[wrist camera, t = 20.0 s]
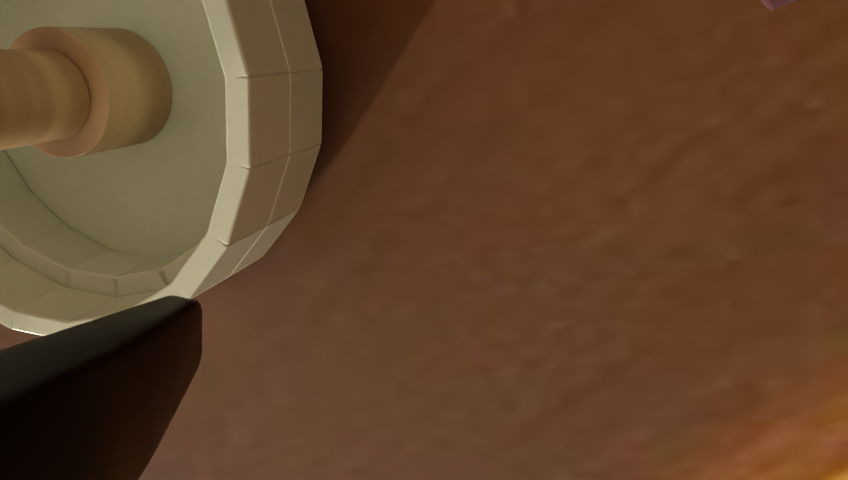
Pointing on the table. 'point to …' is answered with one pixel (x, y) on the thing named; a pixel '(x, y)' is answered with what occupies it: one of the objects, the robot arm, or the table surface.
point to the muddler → (81, 91)
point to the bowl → (164, 163)
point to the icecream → (776, 3)
